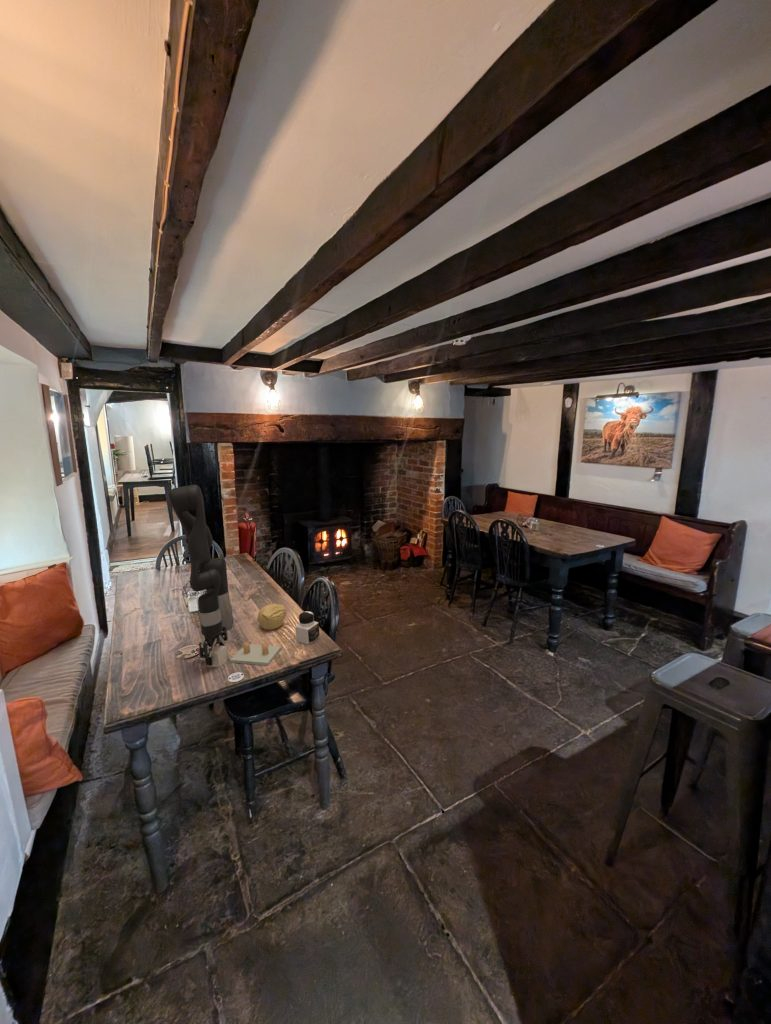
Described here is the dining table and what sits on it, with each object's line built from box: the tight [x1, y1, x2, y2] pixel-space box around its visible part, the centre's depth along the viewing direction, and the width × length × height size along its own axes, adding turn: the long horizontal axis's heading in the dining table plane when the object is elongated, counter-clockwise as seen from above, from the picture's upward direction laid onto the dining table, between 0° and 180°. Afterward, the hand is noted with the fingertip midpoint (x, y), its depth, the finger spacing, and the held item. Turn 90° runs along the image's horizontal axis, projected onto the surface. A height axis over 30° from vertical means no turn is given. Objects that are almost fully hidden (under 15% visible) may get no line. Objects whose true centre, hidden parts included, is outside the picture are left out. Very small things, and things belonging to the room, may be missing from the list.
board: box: [229, 641, 283, 667], centre depth 166 cm, size 12×16×5 cm
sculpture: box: [257, 602, 287, 631], centre depth 190 cm, size 12×12×11 cm
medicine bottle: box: [294, 611, 320, 645], centre depth 177 cm, size 7×7×12 cm
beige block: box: [207, 644, 228, 668], centre depth 162 cm, size 5×5×6 cm
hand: (216, 659), depth 162 cm, fingers open, 8 cm apart
